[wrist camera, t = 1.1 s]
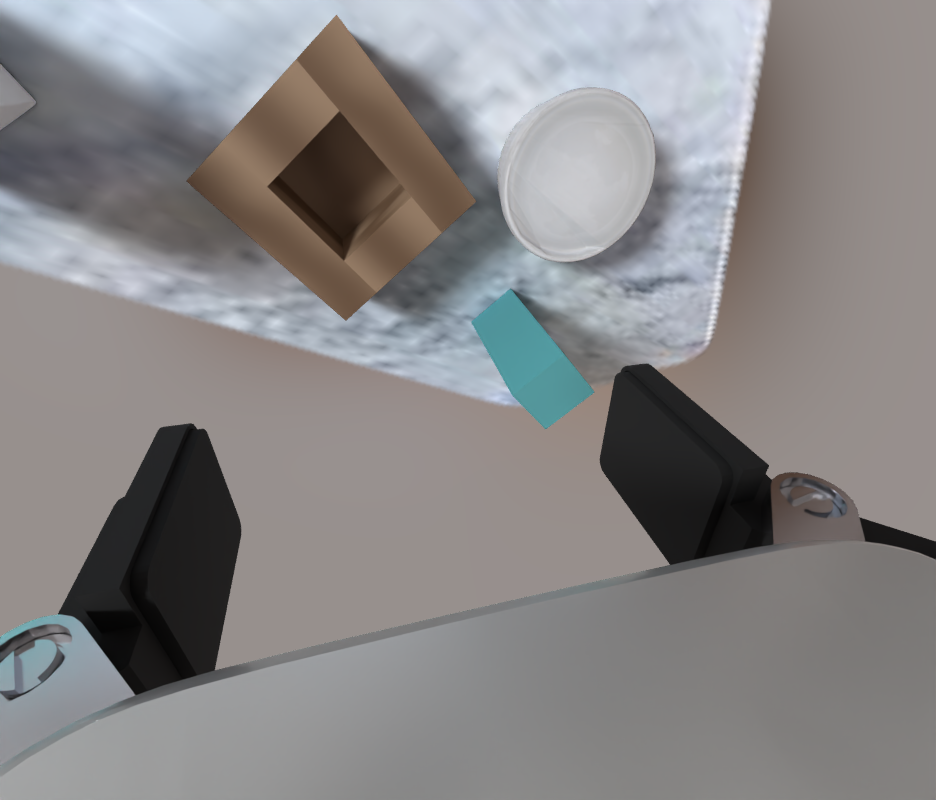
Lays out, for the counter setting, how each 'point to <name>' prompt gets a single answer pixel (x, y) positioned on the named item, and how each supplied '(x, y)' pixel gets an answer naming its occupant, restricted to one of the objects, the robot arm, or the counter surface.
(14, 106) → the milk carton
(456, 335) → the counter surface
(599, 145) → the ramekin
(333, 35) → the socket block
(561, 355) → the peg
